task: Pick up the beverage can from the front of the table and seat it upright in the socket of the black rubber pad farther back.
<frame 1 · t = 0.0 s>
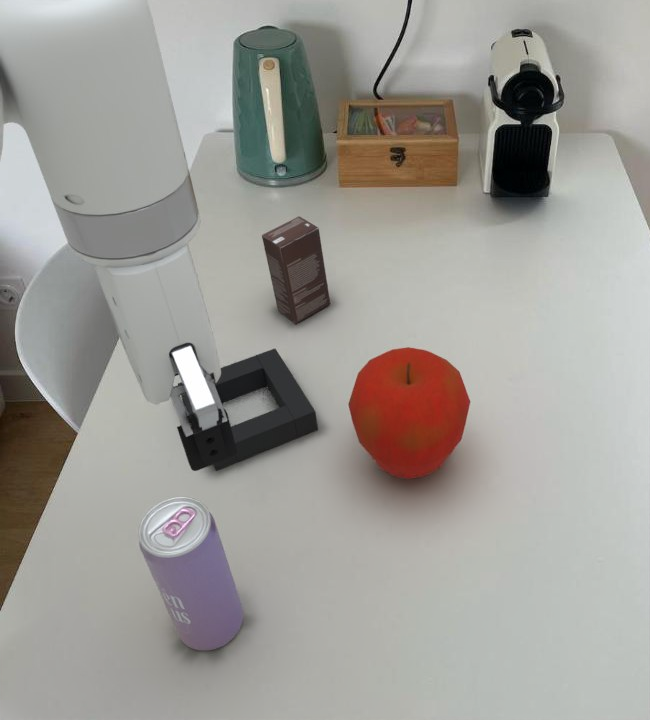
hand: (192, 414, 58), 25 cm above the table, tool pointing down, fingers open, 9 cm apart
socket pad: (249, 415, 93), on the table
box: (303, 308, 107), on the table
apple: (411, 460, 87), on the table
beverage can: (212, 624, 74), on the table
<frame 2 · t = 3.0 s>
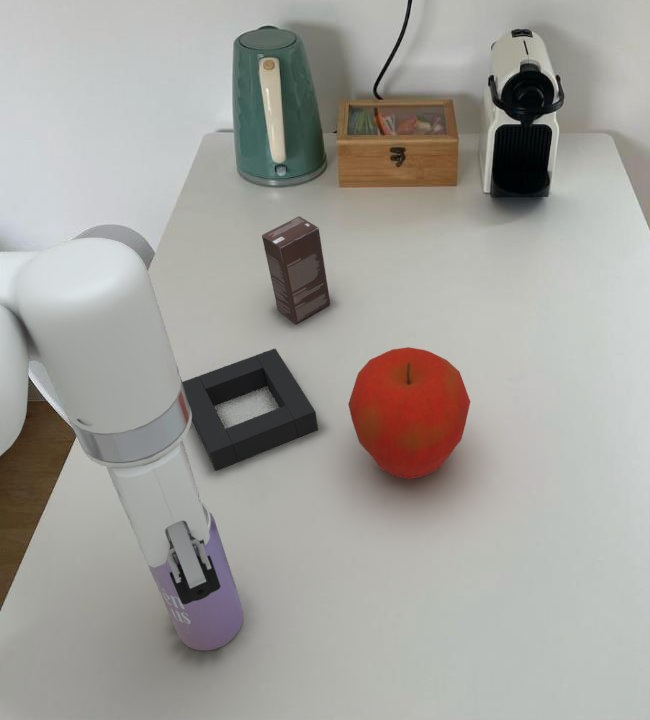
hand: (188, 561, 67), 10 cm above the table, tool pointing down, fingers closed on beverage can, 6 cm apart
beverage can: (212, 624, 74), on the table, touching gripper
everything else where it was.
when the fingers open (10 cm above the table, at t = 10.6 s): beverage can stays where it is, resting in socket pad.
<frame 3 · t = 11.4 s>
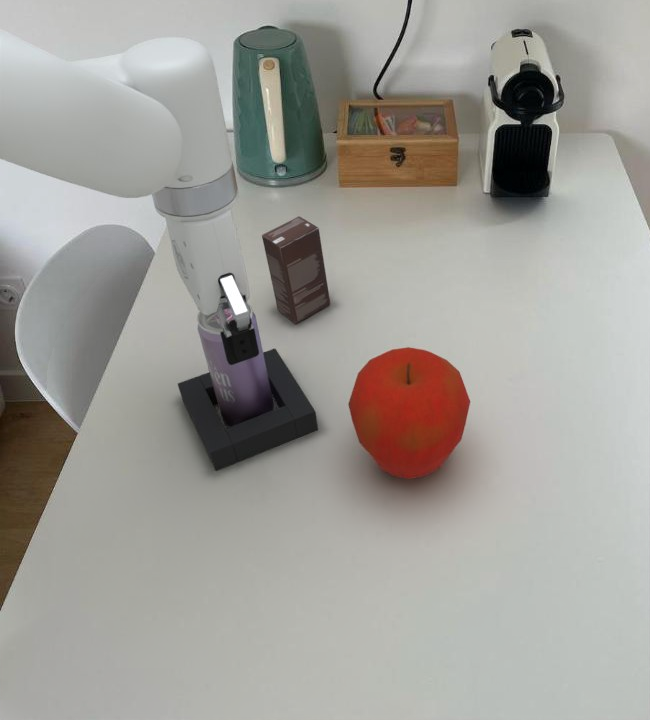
hand: (227, 331, 84), 13 cm above the table, tool pointing down, fingers open, 9 cm apart
beverage can: (249, 416, 93), resting in socket pad
everything else where it was.
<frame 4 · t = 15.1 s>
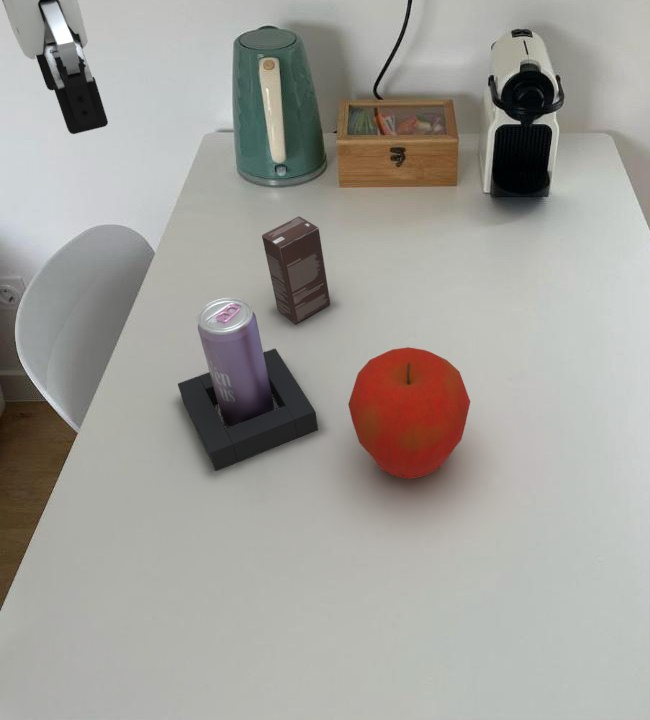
hand: (76, 106, 70), 36 cm above the table, tool pointing down, fingers open, 9 cm apart
nothing on the table moved.
at the end: beverage can 0.0 cm off-centre in the socket pad, point 0.0 cm above the socket pad's base; beverage can tilted 0°; the gripper is holding nothing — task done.
